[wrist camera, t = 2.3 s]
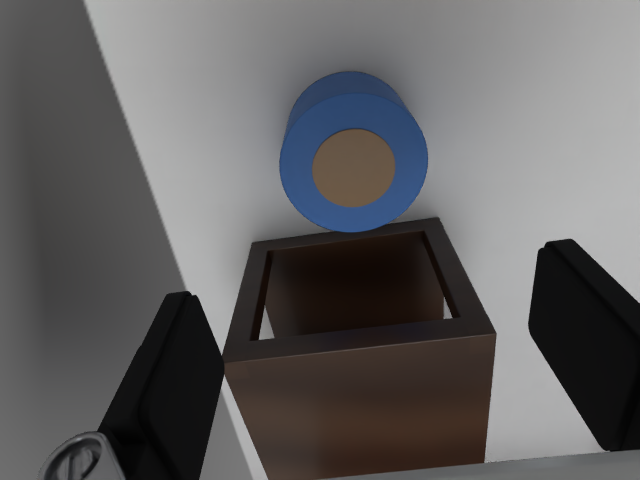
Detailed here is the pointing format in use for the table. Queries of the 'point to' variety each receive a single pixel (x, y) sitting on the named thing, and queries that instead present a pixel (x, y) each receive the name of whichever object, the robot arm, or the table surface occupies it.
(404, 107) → the tape
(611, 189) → the table surface
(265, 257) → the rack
